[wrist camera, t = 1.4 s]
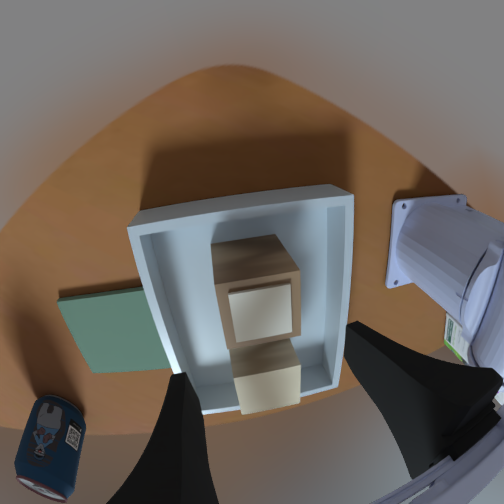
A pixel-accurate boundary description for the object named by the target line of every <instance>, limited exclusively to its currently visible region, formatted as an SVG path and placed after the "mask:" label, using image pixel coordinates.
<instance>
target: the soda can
mask: <svg viewBox="0 0 504 504" xmlns="http://www.w3.org/2000/svg"><path fill="white" fill-rule="evenodd" d="M85 431H86V424H85V421H84V418H83V415H82V413H81V412H80V410H79V409H78V408H77V407H76V406H75V405H73V404H72V403H71V402H69V401H67V400H65V399H63V398H61V397H59V396H55V395H45V396H43V397H41V398H39V399H38V400H36V401H35V403H34V405H33V408H32V411H31V413H30V416H29V419H28V421H27V424H26V427H25V430H24V433H23V436H22V439H21V442H20V445H19V448H18V452H17V455H16V458H15V462H14V464H15V469H16V473H17V476H16V479H17V481H18V482H19V483H20V484H22V485H23V486H25V487H26V488H28V489H30V490H31V491H33V492H35V493H37V494H39V495H41V496H43V497H45V498H48V499H50V500H53V501H57V502H61V503H66V502H67V498H68V497H69V496H70V495H71V494H72V493H73V492H74V489H75V482H76V476H77V470H78V465H79V459H80V454H81V449H82V444H83V440H84V435H85Z"/></svg>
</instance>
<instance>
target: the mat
mask: <svg viewBox="0 0 504 504" xmlns="http://www.w3.org/2000/svg"><path fill="white" fill-rule="evenodd" d="M57 304H58V307H59V309H60V311H61V313H62V316H63V318H64V320H65V322H66V324H67V326H68V328H69V330H70V332H71V334H72V336H73V338H74V340H75V342H76V344H77V346H78V347H79V349H80V351H81V353H82V355H83V357H84V358H85V360H86V362H87V364H88V365H89V367H90V369H91V371H92V372H93V373H108V372H127V371H141V370H153V369H164V368H172V367H171V365H170V362H169V360H168V357H167V355H166V352H165V349H164V347H163V344H162V341H161V339H160V336H159V333H158V330H157V328H156V325H155V322H154V319H153V316H152V313H151V310H150V307H149V304H148V301H147V298H146V295H145V291H144V288H143V287H136V288H129V289H122V290H115V291H108V292H101V293H94V294H86V295H79V296H72V297H64V298H59V299H58V300H57Z"/></svg>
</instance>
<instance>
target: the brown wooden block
mask: <svg viewBox="0 0 504 504" xmlns="http://www.w3.org/2000/svg"><path fill="white" fill-rule="evenodd" d="M210 245H211V256H212V267H213V277H214V286H215V292H216V297H217V302H218V307H219V312H220V317H221V322H222V327H223V332H224V337H225V342H226V346H227V350H228V349H234V348H240V347H245V346H251V345H257V344H262V343H267V342H272V341H277V340H282V339H287V338H292V337H296V336H301V278H300V269H299V268H298V266H297V265H296V263H295V262H294V260H293V259H292V257H291V256H290V254H289V253H288V252H287V250H286V249H285V247H284V246H283V244H282V243H281V241H280V240H279V239H278V237H277V236H276V234H271V235H264V236H258V237H251V238H245V239H238V240H232V241H225V242H219V243H213V244H210Z"/></svg>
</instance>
